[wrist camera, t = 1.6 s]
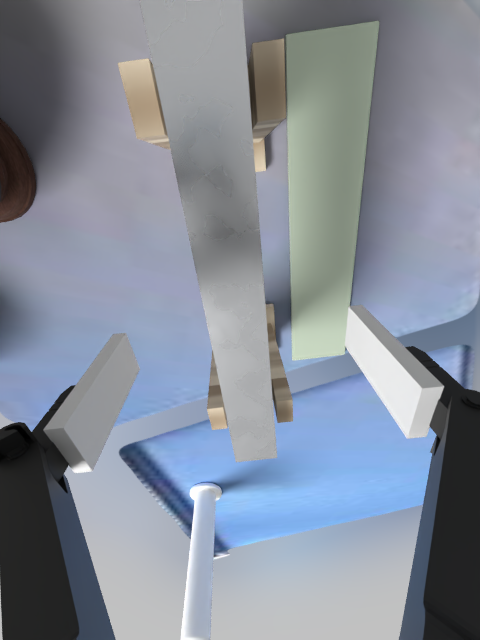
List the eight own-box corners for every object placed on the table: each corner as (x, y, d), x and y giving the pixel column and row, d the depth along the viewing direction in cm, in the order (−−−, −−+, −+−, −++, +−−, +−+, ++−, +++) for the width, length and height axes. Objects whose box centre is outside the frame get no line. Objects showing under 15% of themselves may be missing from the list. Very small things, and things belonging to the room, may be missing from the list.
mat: (285, 36, 23) (286, 34, 23) (376, 23, 23) (379, 20, 22) (292, 358, 41) (292, 360, 40) (343, 352, 41) (344, 354, 40)
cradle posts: (162, 85, 24) (85, -14, 11) (258, 71, 24) (294, -46, 11) (217, 356, 40) (211, 446, 27) (275, 350, 40) (298, 436, 27)
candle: (188, 498, 60) (165, 683, 38) (192, 481, 57) (169, 673, 35) (219, 500, 61) (213, 682, 39) (224, 483, 58) (221, 672, 36)
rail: (159, 13, 14) (127, -58, 9) (234, 2, 14) (236, -76, 9) (235, 419, 30) (235, 462, 25) (269, 415, 30) (277, 457, 25)
